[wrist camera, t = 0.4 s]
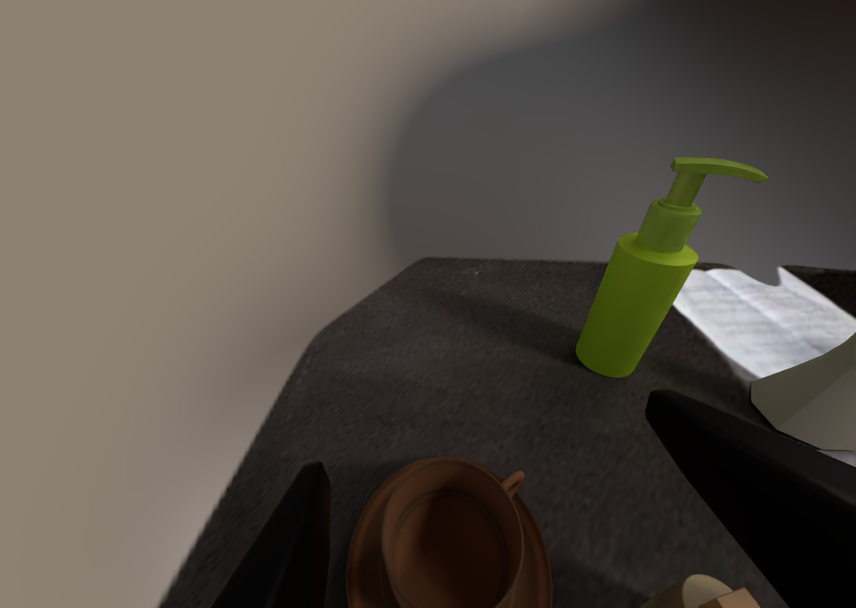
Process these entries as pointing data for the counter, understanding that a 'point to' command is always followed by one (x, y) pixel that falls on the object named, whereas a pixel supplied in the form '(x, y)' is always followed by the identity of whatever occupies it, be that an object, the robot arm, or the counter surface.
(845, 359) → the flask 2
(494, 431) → the counter surface
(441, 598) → the cup and saucer
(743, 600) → the brown bracket-shaped piece
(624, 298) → the soap dispenser
